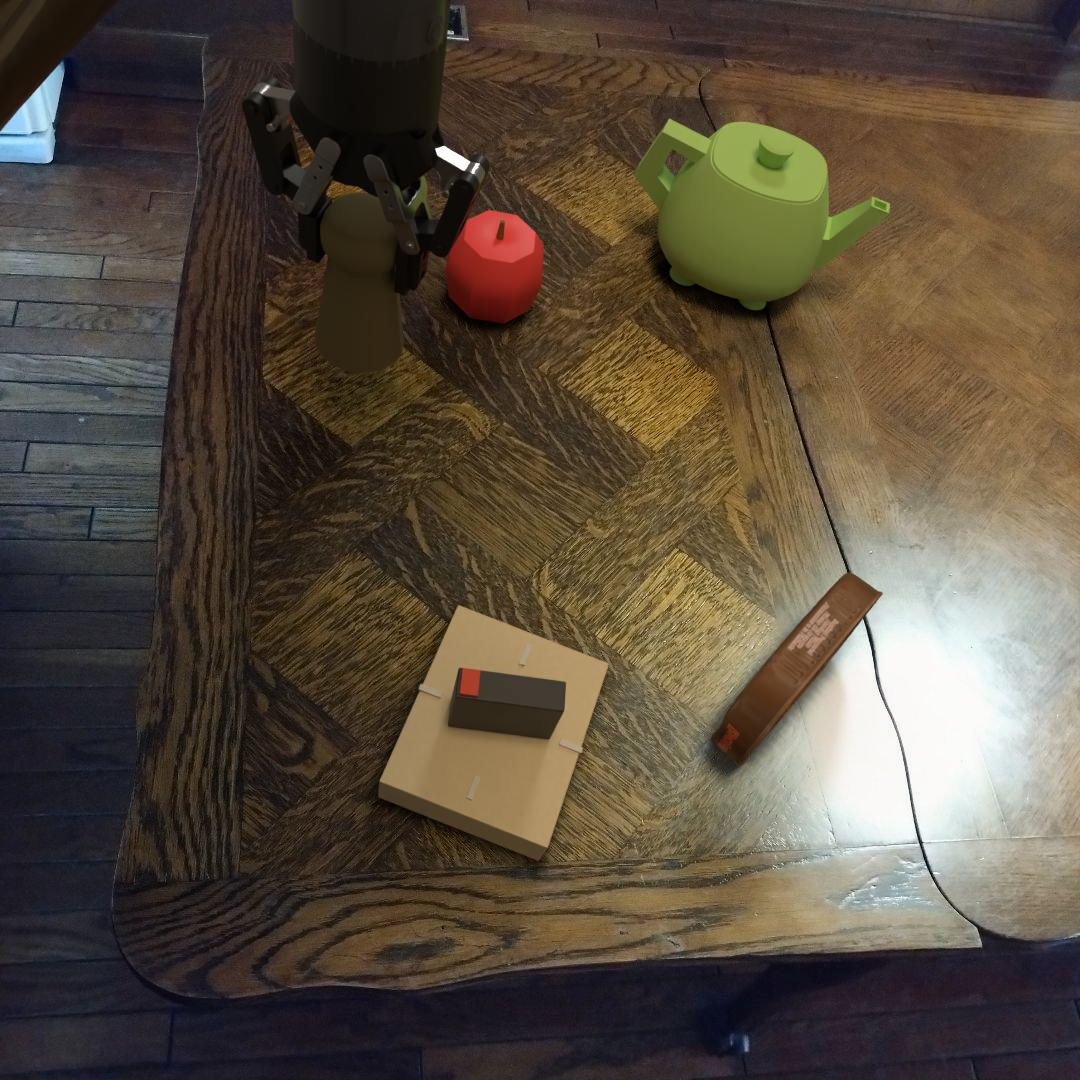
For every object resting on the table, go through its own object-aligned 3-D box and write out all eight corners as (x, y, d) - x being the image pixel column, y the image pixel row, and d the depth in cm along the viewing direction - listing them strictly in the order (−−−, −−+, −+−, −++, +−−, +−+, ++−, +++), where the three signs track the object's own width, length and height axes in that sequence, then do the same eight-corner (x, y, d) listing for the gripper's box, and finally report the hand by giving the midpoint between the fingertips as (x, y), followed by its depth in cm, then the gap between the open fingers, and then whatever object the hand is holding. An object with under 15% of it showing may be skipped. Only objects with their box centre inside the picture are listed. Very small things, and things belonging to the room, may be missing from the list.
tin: (724, 786, 61) (775, 739, 54) (686, 751, 62) (730, 700, 55) (850, 636, 68) (909, 577, 61) (814, 606, 69) (867, 545, 62)
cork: (295, 340, 66) (290, 209, 57) (354, 293, 69) (358, 162, 60) (365, 388, 65) (371, 263, 56) (422, 338, 68) (436, 212, 59)
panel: (540, 862, 57) (550, 848, 54) (375, 796, 57) (377, 779, 54) (600, 683, 63) (611, 662, 60) (452, 625, 63) (457, 602, 61)
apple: (455, 344, 76) (466, 266, 69) (427, 270, 79) (435, 189, 73) (551, 330, 78) (571, 254, 72) (520, 259, 82) (536, 180, 75)
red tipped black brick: (552, 710, 58) (567, 679, 54) (549, 740, 57) (565, 709, 53) (451, 697, 58) (459, 664, 54) (447, 726, 57) (455, 695, 53)
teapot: (845, 254, 89) (913, 135, 79) (824, 356, 82) (896, 239, 71) (637, 180, 90) (677, 52, 79) (598, 275, 82) (636, 147, 72)
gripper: (534, 21, 50) (489, 272, 64) (270, -77, 50) (283, 194, 64) (482, 101, 45) (446, 350, 60) (195, -7, 46) (227, 266, 60)
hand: (362, 268), depth 62 cm, fingers closed on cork, 5 cm apart
